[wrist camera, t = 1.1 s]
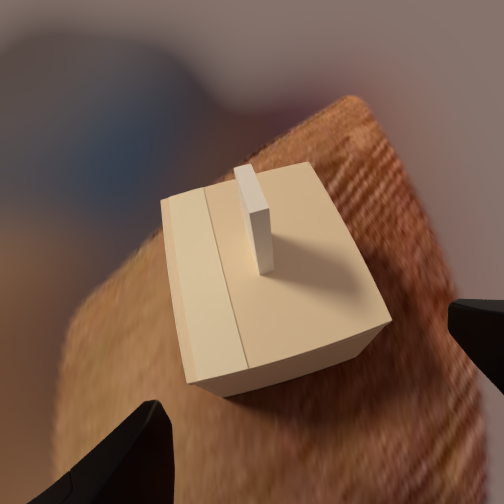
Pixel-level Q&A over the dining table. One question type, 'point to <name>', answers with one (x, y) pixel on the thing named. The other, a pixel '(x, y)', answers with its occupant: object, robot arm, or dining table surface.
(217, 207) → the carton lid
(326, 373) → the dining table surface
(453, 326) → the robot arm
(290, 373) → the carton
